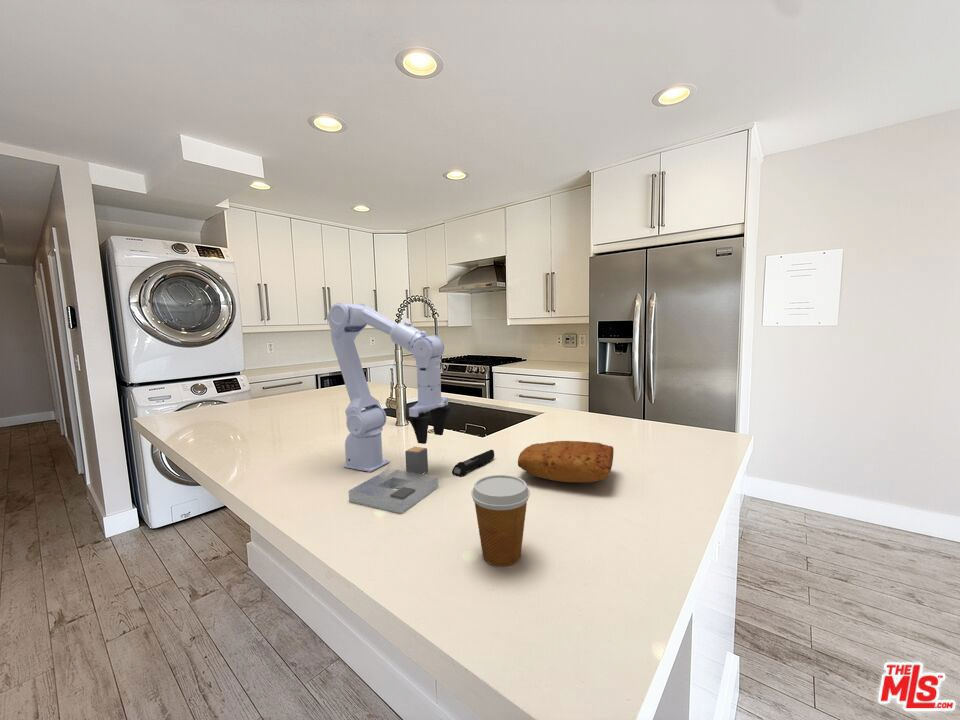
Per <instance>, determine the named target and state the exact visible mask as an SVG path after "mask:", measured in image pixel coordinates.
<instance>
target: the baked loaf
mask: <svg viewBox="0 0 960 720" xmlns="http://www.w3.org/2000/svg"><path fill="white" fill-rule="evenodd" d="M613 463H614V447H613V446H612V445H608V444H603V443H601V442H595V441H593V442H591V441H580V440H579V441H578V440H555V441H549V442H542V443H541V442H540V443H538V442H537V443H533V444H530V445H528V446H527V447H525V448H524V449H523V450H522V451H520V453H519V455H518V460H517V466H518V467H519V468H520V469H521V470H523V471H525V472H526V473H527V474H529V475H533V476H534V477H536V478H537V477H539V478H542V479H546V480H549V481H550V480H551V481H555V482H563V483H594V482H598V481H602V480H606V479H607V478H608V476H609V475H610V473H611V470H612V469H613Z"/></svg>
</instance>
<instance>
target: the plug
mask: <svg viewBox="0 0 960 720" xmlns="http://www.w3.org/2000/svg"><path fill="white" fill-rule="evenodd" d="M404 452H405V454H404V455H405V471H406V472H412V473H418V474H423V473H424V472H425V473H427V472H428V471H429V466H428V465H429V463H428V462H429V460H428V447H427V448H426V447H420V446H413V447H411V448H409V449H407V450H405V451H404ZM426 471H427V472H426ZM425 473H424V474H425Z"/></svg>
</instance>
